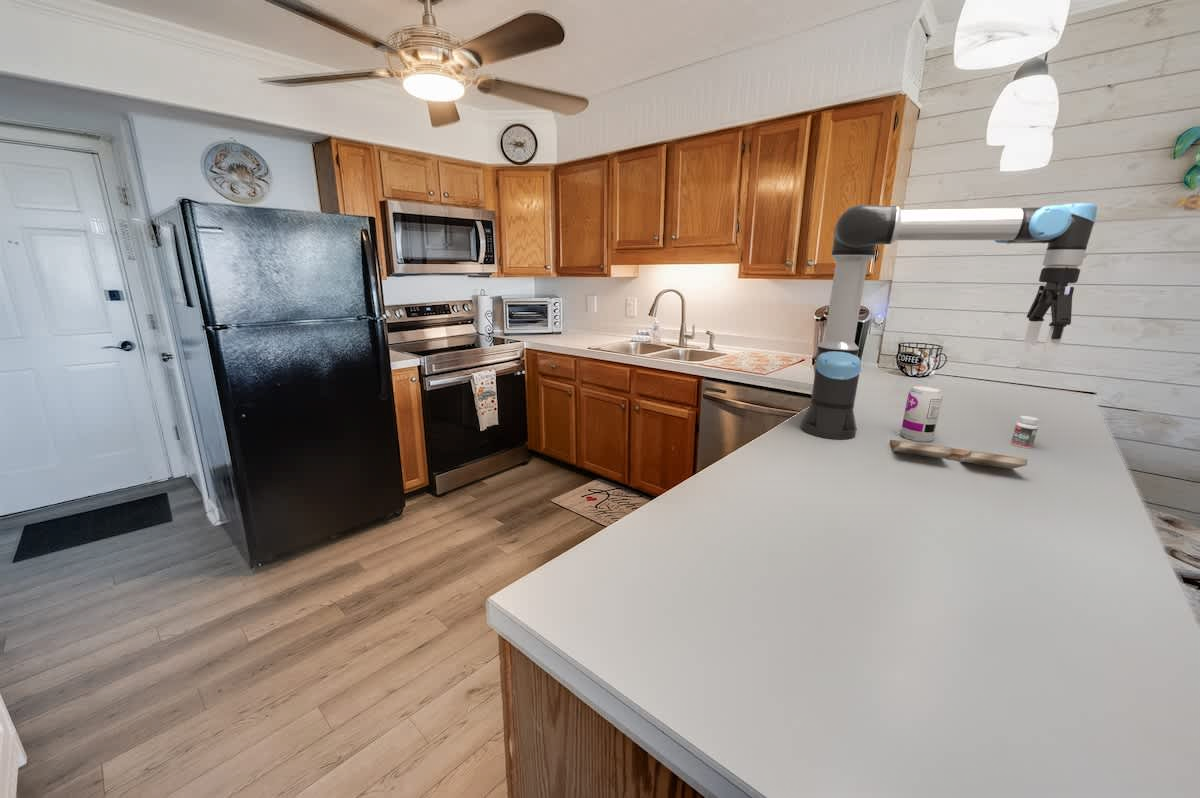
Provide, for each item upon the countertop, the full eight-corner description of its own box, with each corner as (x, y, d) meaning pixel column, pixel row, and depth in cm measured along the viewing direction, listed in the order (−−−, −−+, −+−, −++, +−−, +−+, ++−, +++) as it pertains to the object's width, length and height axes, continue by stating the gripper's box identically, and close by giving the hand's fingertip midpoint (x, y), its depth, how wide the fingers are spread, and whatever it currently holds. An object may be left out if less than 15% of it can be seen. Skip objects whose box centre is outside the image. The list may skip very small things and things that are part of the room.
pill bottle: (1007, 443, 138) (1014, 416, 136) (1016, 441, 140) (1023, 414, 138) (1026, 449, 134) (1034, 421, 132) (1035, 447, 136) (1043, 419, 134)
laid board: (892, 450, 130) (893, 445, 130) (889, 443, 136) (890, 438, 135) (1011, 468, 121) (1012, 462, 120) (1002, 460, 126) (1004, 454, 125)
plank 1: (899, 446, 122) (900, 440, 123) (893, 451, 130) (893, 445, 130) (951, 454, 118) (951, 448, 118) (941, 458, 125) (941, 452, 126)
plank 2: (970, 456, 117) (971, 450, 117) (959, 461, 124) (960, 455, 124) (1027, 465, 112) (1027, 458, 113) (1012, 468, 120) (1012, 463, 120)
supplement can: (904, 440, 139) (915, 390, 135) (896, 431, 146) (906, 384, 142) (937, 444, 136) (948, 393, 132) (927, 435, 144) (937, 386, 140)
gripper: (1105, 267, 113) (1079, 356, 118) (1058, 268, 135) (1038, 342, 140) (1064, 266, 115) (1040, 353, 121) (1025, 267, 137) (1006, 340, 143)
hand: (1039, 347), depth 131 cm, fingers open, 13 cm apart
